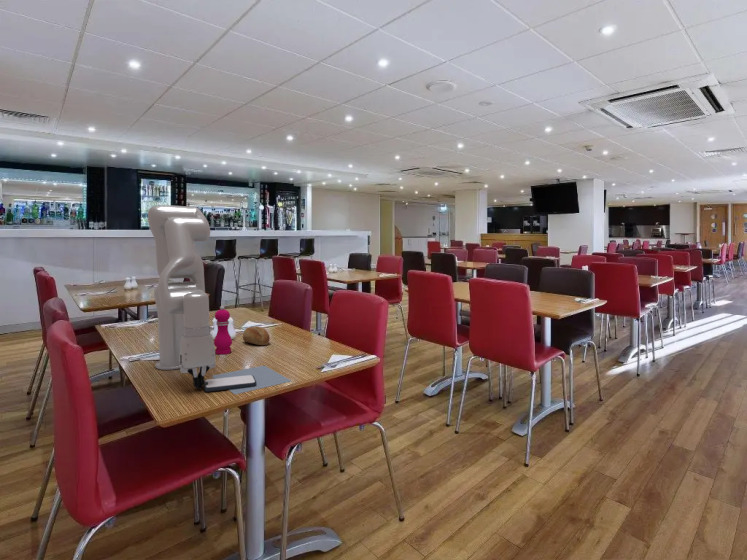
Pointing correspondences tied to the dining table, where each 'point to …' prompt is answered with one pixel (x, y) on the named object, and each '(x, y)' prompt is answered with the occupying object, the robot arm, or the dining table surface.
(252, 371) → the slate mat
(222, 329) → the pepper mill
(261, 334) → the bread roll
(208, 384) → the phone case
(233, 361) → the dining table surface
